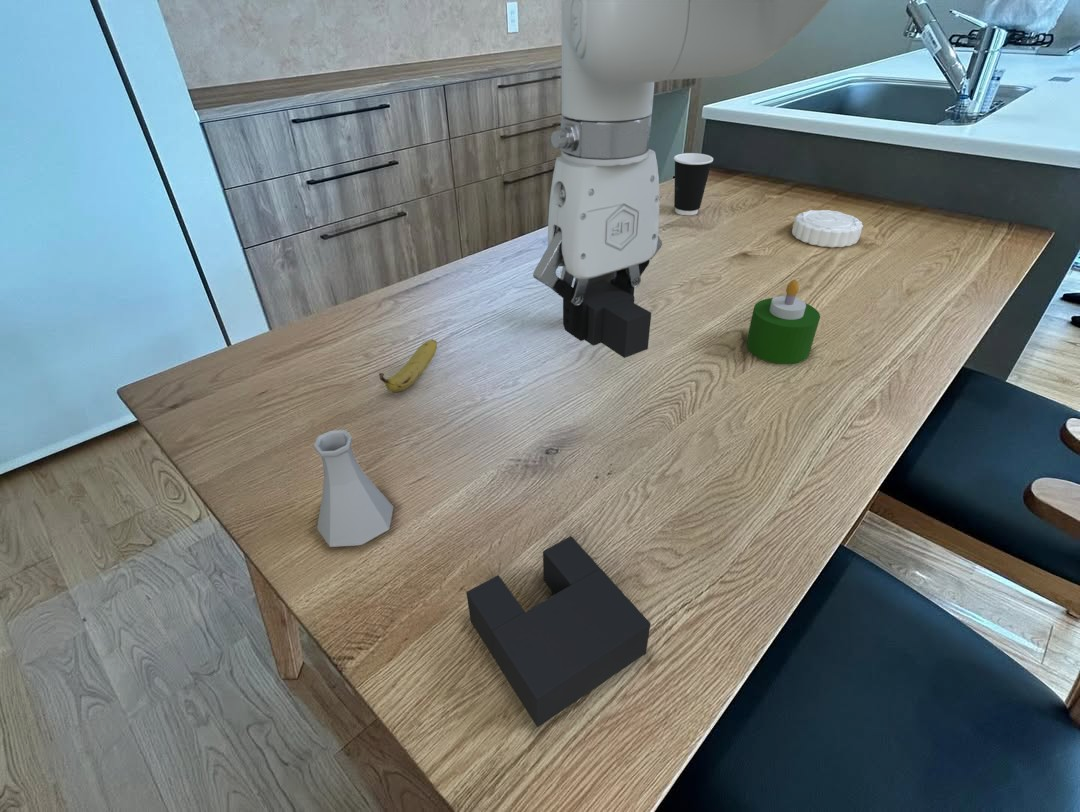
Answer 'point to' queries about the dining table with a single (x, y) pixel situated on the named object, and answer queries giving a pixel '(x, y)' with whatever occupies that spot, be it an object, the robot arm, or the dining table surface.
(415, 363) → the banana
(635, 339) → the pad
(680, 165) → the dixie cup
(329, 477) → the flask
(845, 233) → the mooncake
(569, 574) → the notch pad
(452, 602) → the dining table surface
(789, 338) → the candle
